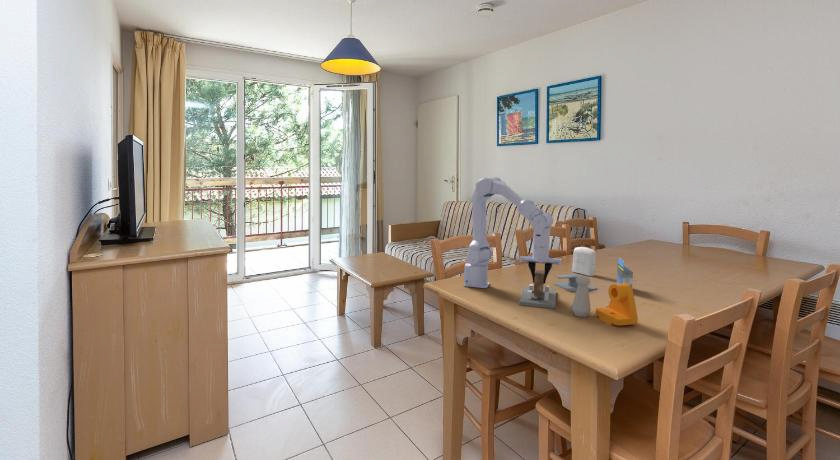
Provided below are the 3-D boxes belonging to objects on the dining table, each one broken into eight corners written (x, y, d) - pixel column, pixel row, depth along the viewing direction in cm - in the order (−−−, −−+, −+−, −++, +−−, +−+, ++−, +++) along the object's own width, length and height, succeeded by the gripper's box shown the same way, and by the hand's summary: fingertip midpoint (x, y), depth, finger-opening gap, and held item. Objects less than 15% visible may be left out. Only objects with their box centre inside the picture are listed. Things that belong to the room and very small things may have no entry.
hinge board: (519, 304, 147) (519, 294, 147) (523, 289, 166) (524, 280, 166) (555, 308, 144) (555, 298, 143) (555, 292, 163) (555, 283, 162)
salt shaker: (568, 312, 140) (570, 274, 138) (584, 312, 141) (587, 274, 139) (576, 318, 134) (578, 279, 133) (593, 318, 135) (596, 278, 133)
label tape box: (632, 293, 163) (635, 262, 162) (621, 292, 164) (623, 261, 162) (626, 286, 172) (628, 257, 170) (615, 286, 173) (617, 257, 171)
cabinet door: (531, 296, 150) (532, 277, 149) (533, 287, 161) (533, 269, 160) (542, 297, 148) (543, 278, 147) (543, 288, 160) (544, 270, 159)
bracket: (593, 316, 137) (596, 280, 135) (612, 314, 139) (615, 279, 137) (616, 328, 127) (620, 289, 125) (637, 326, 128) (640, 288, 127)
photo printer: (596, 275, 190) (597, 248, 188) (590, 276, 188) (592, 249, 186) (576, 270, 198) (577, 245, 197) (570, 272, 196) (572, 246, 194)
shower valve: (547, 272, 174) (577, 270, 179) (547, 285, 174) (576, 282, 179) (567, 280, 162) (598, 277, 167) (567, 293, 163) (597, 290, 168)
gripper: (519, 246, 151) (518, 283, 153) (562, 249, 146) (560, 287, 148) (521, 243, 157) (519, 278, 159) (562, 246, 153) (559, 282, 155)
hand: (539, 282), depth 154 cm, fingers closed on cabinet door, 3 cm apart
